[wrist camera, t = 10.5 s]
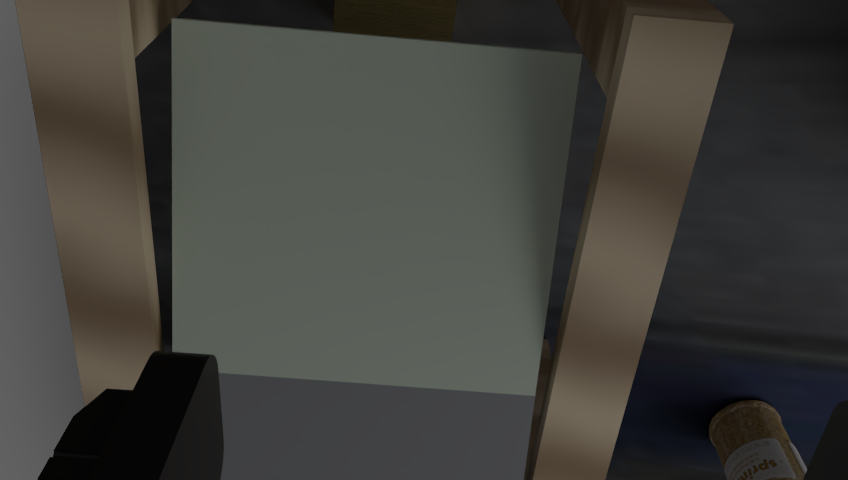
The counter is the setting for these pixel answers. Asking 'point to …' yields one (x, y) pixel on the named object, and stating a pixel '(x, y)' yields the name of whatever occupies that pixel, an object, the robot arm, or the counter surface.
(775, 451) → the sprinkles bottle
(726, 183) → the counter surface
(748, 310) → the counter surface
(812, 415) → the counter surface
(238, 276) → the trapdoor
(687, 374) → the counter surface
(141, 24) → the trapdoor frame
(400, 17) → the block
